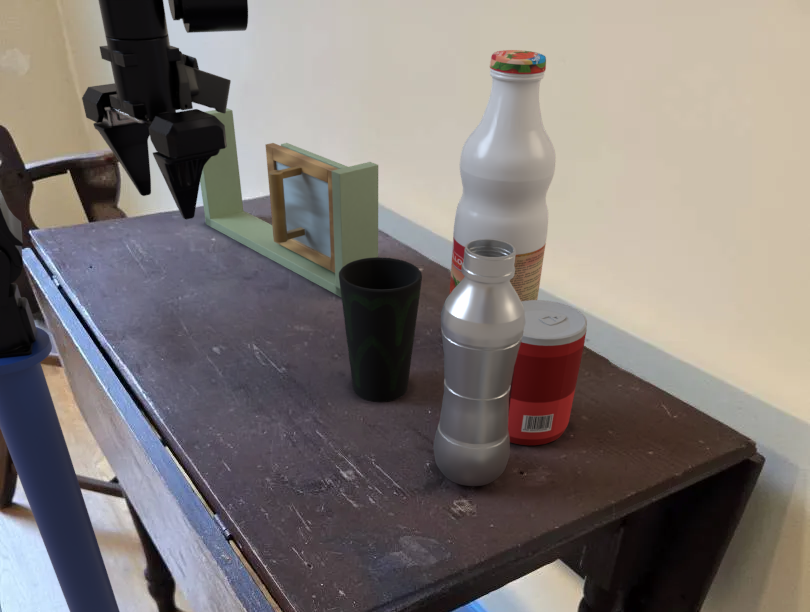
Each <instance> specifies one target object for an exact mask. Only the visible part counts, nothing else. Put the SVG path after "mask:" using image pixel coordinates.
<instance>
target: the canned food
mask: <svg viewBox="0 0 810 612" xmlns="http://www.w3.org/2000/svg"><path fill="white" fill-rule="evenodd" d="M521 303H522V305H523V308H524V313H525V319H526V323H525V327H524V333H523V336H522V340H521V344H520V347H519V351H518V354H517V358H516V361H515V365H514V370H513V376H512V381H511V384H510V385H511V387H510V392H509V408H508V431H509V438H510V444H511V443H512V444H514V445H520V446H541V445H547V444H548V443H552V442H554V441H557V440H558V439H559V438H561V436H562V435H563V434H564V432H566V429H567V427H568V425H569V422H570V418H571V414H572V413H571V412H572V408H573V402H574V397H575V393H576V387H577V382H578V377H579V372H580V368H581V362H582V357H583V352H584V347H585V342H586V336H587V331H588V329H587V327H588V320H587V317H586V316H585V315H584V313H583V312H581V311H580V310H579V309H577V308H576V307H573V306H571V305H568V304H566V303H561V302H558V301H552V300H544V299H543V300H542V299H537V300H529V301H521Z"/></svg>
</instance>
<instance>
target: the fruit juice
mask: <svg viewBox="0 0 810 612" xmlns="http://www.w3.org/2000/svg"><path fill="white" fill-rule="evenodd" d="M546 69H547V57H546V55H545V54H543V53H540V52H536V51H530V50H520V49H506V50H504V49H503V50H497V51H494V52H493V53H492V54H491V56H490V61H489V76H490V77H491V81H492V82H491V89H490V93H489V97H488V101H487V104H486V106H485V109H484V112H483V115H482V117H481V119H480V121H479V123H478V124H477V126H476V127H475V128H474V129H473V131H472V132H471V133H470V134H469V135H468V137H467V139H466V140H465V141H464V144H463V146H462V148H461V152H460V158H459V173H460V174H459V175H460V179H461V185H462V193H461V196H460V199H459V200H458V202H457V206H456V209H455V213H454V214H455V215H454V221H453V222H454V223H453V231H452V236H453V237H452V251H451V265H450V278H449V279H450V282H449V294H448V296H449V295H450V293H451V292H452V291H453V289H454V288H455V287H456V286H457V285H458V284H459V283H460V282H461V281H462V280H463V279H464V277H465V276H464V275H463V274H462V271H461V269H462V263H463V262H464V251H465V246H466V244H467V243H468V242H470V241H473V240H477V239H495V240H501V241H504V242H507V243H509V244H511V245H513V246H514V247H515V249H516V251H515V252H516V255H515V263H514V267H515V273H514V277H513V278H512V279H510V283H511V285H512V286H513V288H514V289H515V291H516V293H517V294H518V296H519V299H520V301H529V300H539V293H540V292H539V291H540V286H541V277H542V272H543V271H542V270H543V264H544V258H545V250H546V245H547V238H548V230H549V209H548V205H547V194H548V191H549V189H550V186H551V184H552V182H553V178H554V175H555V171H556V163H557V160H556V159H557V157H556V149H555V146H554V144H553V142H552V139H551V138H550V136H549V134H548V133H547V130H545V127H544V124H543V118H542V113H541V111H542V110H541V105H540V104H541V103H540V84H541V81H542V80H543V79H544V77H545V73H546Z"/></svg>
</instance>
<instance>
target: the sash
mask: <svg viewBox="0 0 810 612" xmlns="http://www.w3.org/2000/svg"><path fill="white" fill-rule="evenodd" d="M265 154H266V155H265V157H266V167H267V180H268V190H269V201H270V213H271V225H272V226H273V238H274V242H276V243H278V244H280V245H282V246H284V247H286V248H288V249H290V250H291V251H293V252H295V253H297V254H299V255H301V256H303V257H305V258H307V259H309V260H311V261H313V262H315V263H317V264H319V265H321V266H322V267H324V268H326V269H328V270H330V271H332V272H334V273H335V253H334V225H333V197H332V171H333V170H337V169H338V168H335V167H333V166H330V165H328V164H325V163H323V162H320V161H318V160H315V159H313V158H310V157H308V156H305V155H303V154H300V153H297V152H295V151H292V150H290V149H287V148H285V147H282V146H281V144H280V145H279V144H277V143H274V142H270V143H266V144H265Z"/></svg>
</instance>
